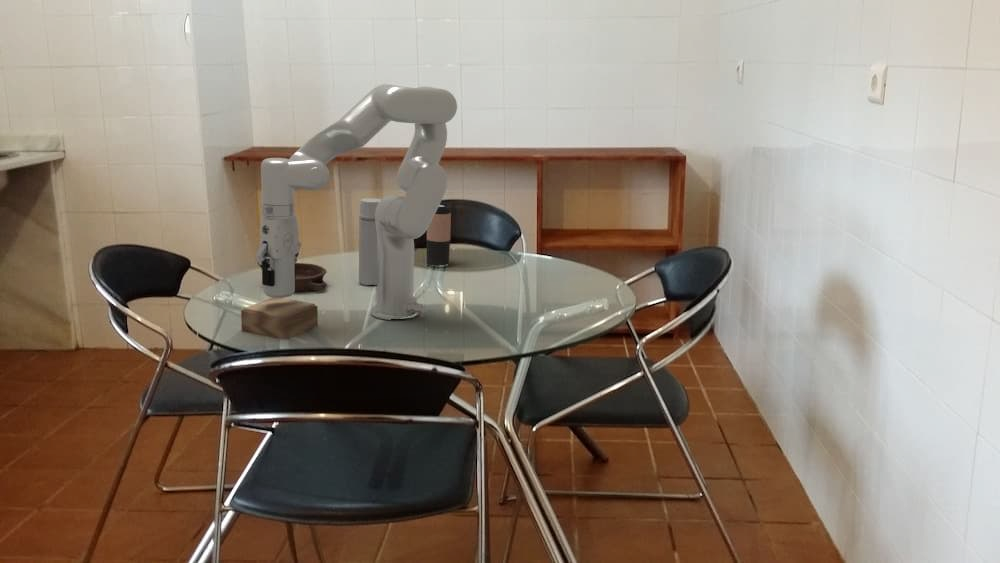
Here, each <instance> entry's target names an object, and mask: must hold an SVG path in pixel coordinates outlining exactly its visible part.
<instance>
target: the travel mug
mask: <svg viewBox="0 0 1000 563" xmlns="http://www.w3.org/2000/svg"><path fill="white" fill-rule="evenodd" d="M451 219H452V205H451V204H450V203H445V202H441V203H440V205H439V207H438V209H437V211H436V213H435V215H434V217H433V219H432V221H431V224H430V225H429V227H428V229H427V230H426V265H427V264H429V265H445V264H448V263H450V248H451V229H452V228H451V225H452V224H451V223H452V222H451Z"/></svg>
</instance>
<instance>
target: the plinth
mask: <svg viewBox="0 0 1000 563" xmlns="http://www.w3.org/2000/svg"><path fill="white" fill-rule="evenodd" d="M318 308H319V307H318V305H315V303H313V302H306V301H302V300H297V299H291V298H287V297H285V298H272V297H269V298H267V299H265V300H262V301H260V302H257V303H254V304H251V305H249V306H247V307H244V308H243V309H242V310H241V311H240V318H241V319H240V320H241V331H245V332H248V333H253V334H258V335H263V336H269V337H272V338H276V339H281V340H288V339H290V338H292V337H294V336H296V335H298V334H302V333H303V332H306V331H308V330H310V329H311V328H314V327H316V326H318V321H319V318H318V316H319V314H318Z"/></svg>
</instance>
